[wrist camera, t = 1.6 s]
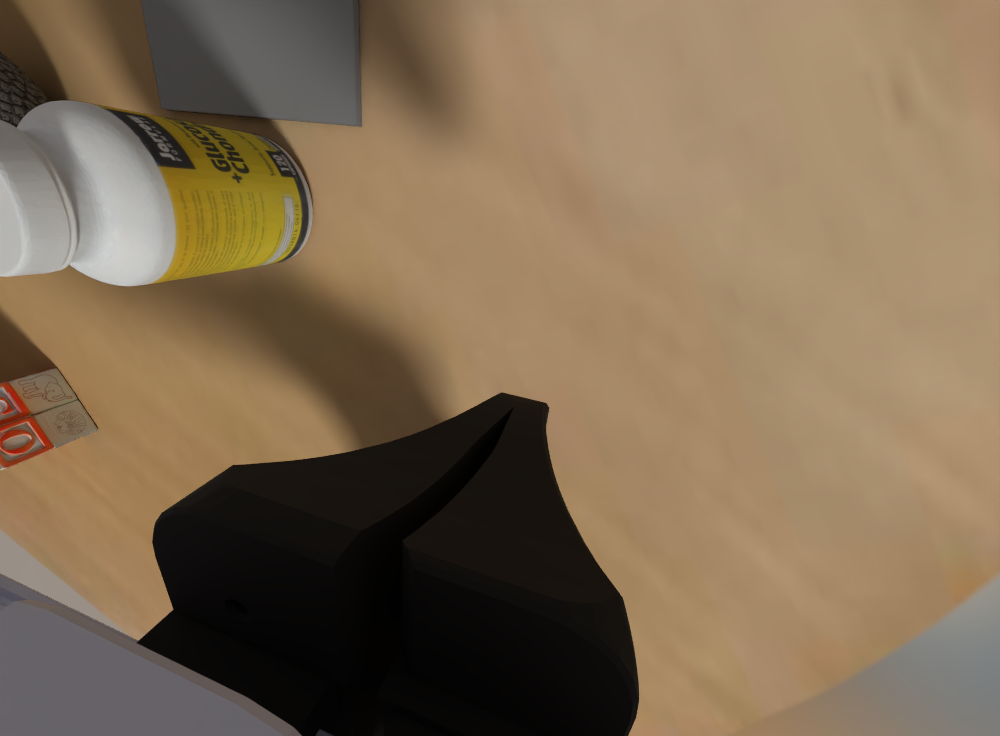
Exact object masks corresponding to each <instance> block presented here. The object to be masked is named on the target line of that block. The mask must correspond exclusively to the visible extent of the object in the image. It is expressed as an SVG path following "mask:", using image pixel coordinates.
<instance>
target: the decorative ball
mask: <svg viewBox="0 0 1000 736" xmlns="http://www.w3.org/2000/svg"><path fill="white" fill-rule="evenodd" d="M47 102H49V100H48V99H47V98H46V96H45V95H44V94H43V92H42V91H41V90H40V89H39V88H38V86H37V85H36V84H35V83H34V82H33V81H32V80H31V79H30V78H29V77H28V76H27V75H26V74H25V73H24V72H23V71H22V70H21V69H20V68H19V67H18V66H17V65H16V64H14V63H13V62H12V61H11V60H10V59H8V58H7V57H6V56H4V55H3V54H2V53H0V120H2V121H5V122H7V123H9V124H11V125H13V126H14V127H16V128H17V126H18V124H19V123H20V121H21V120H22V118H23V117H24V116H25V115H26V114H27V113H28V112H30V111H31V110H32V109H34V108H35V107H37V106H39V105H41V104H44V103H47Z"/></svg>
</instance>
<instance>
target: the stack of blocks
mask: <svg viewBox="0 0 1000 736" xmlns="http://www.w3.org/2000/svg"><path fill="white" fill-rule="evenodd" d="M97 430H98V429H97V427H96V425H95V424H94V422H93V421H92V419H91V418H90V416H89V415H88V413H87V412H86V410H85V409H84V407H83V406H82V404H81V403H80V401H79V400H78V399H77V397H76V395H75V394H74V392H73V391H72V389H71V388H70V386H69V385H68V384H67V382H66V381H65V379H64V378H63V376H62V375H61V373H60V372H59V370H58V369H57V368H53V369H50V370H46V371H42V372H38V373H35V374H31V375H28V376H25V377H21V378H18V379H14V380H11V381H8V382H7V381H5V382H1V383H0V470H3V469H7V468H9V467H12V466H14V465H16V464H19V463H21V462H24V461H26V460H28V459H31V458H33V457H36V456H38V455H40V454H43V453H45V452H47V451H50V450H52V449H54V448H56V447H59V446H61V445H63V444H66V443H68V442H70V441H73V440H75V439H78V438H80V437H82V436H85V435H87V434H89V433H92V432H94V431H97Z"/></svg>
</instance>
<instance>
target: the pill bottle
mask: <svg viewBox="0 0 1000 736" xmlns="http://www.w3.org/2000/svg"><path fill="white" fill-rule="evenodd" d="M312 221H313V206H312V200H311V195H310V191H309V188H308V185H307V182H306V180H305V178H304V176H303V174H302V172H301V170H300V169H299V167H298V166H297V164H296V163H295V161H294V160H293V159H292V157H291V156H290V155H289V154H288V153H287V152H286V151H285V150H284V149H282V148H281V147H280V146H279V145H277V144H276V143H274V142H273V141H271V140H269V139H267V138H265V137H262V136H259V135H256V134H251V133H246V132H240V131H235V130H230V129H224V128H219V127H214V126H208V125H203V124H197V123H192V122H186V121H181V120H176V119H171V118H165V117H159V116H154V115H149V114H144V113H138V112H132V111H127V110H122V109H117V108H111V107H106V106H101V105H96V104H90V103H85V102H78V101H71V100H61V101H52V102H47V103H44V104H41V105H39V106H37V107H35V108H34V109H32V110H31V111H30V112H28V113H27V114H26V115H25V116H24V117H23V118H22V120H21V121H20V123H19V124H18V126H17V128H16V127H14V126H13V125H11V124H9V123H7V122H5V121H2V120H0V276H19V275H30V274H41V273H50V272H54V271H59V270H62V269H64V268H66V267H67V266H68V265H70V266H72V267H73V268H75V269H76V270H78V271H79V272H81V273H83V274H85V275H87V276H89V277H91V278H94V279H96V280H98V281H101V282H105V283H109V284H113V285H119V286H138V285H146V284H153V283H159V282H165V281H171V280H177V279H184V278H190V277H196V276H202V275H208V274H215V273H221V272H227V271H233V270H238V269H244V268H250V267H256V266H261V265H267V264H273V263H278V262H282V261H285V260H288V259H290V258H292V257H293V256H295V255H296V254H297V253H298V252H299V251H300V250H301V249H302V248H303V247H304V245H305V243H306V242H307V240H308V237H309V235H310V232H311V228H312Z"/></svg>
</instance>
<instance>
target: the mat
mask: <svg viewBox="0 0 1000 736" xmlns="http://www.w3.org/2000/svg"><path fill="white" fill-rule="evenodd" d="M141 4H142V9H143V14H144V20H145V25H146V30H147V35H148V40H149V45H150V50H151V56H152V61H153V66H154V71H155V76H156V81H157V87H158V92H159V97H160V102H161V107H162V109H166V110H174V111H186V112H197V113H209V114H220V115H232V116H244V117H255V118H267V119H278V120H290V121H301V122H313V123H325V124H336V125H348V126H359V127H362V116H361V79H360V41H359V3H358V0H141Z"/></svg>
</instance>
